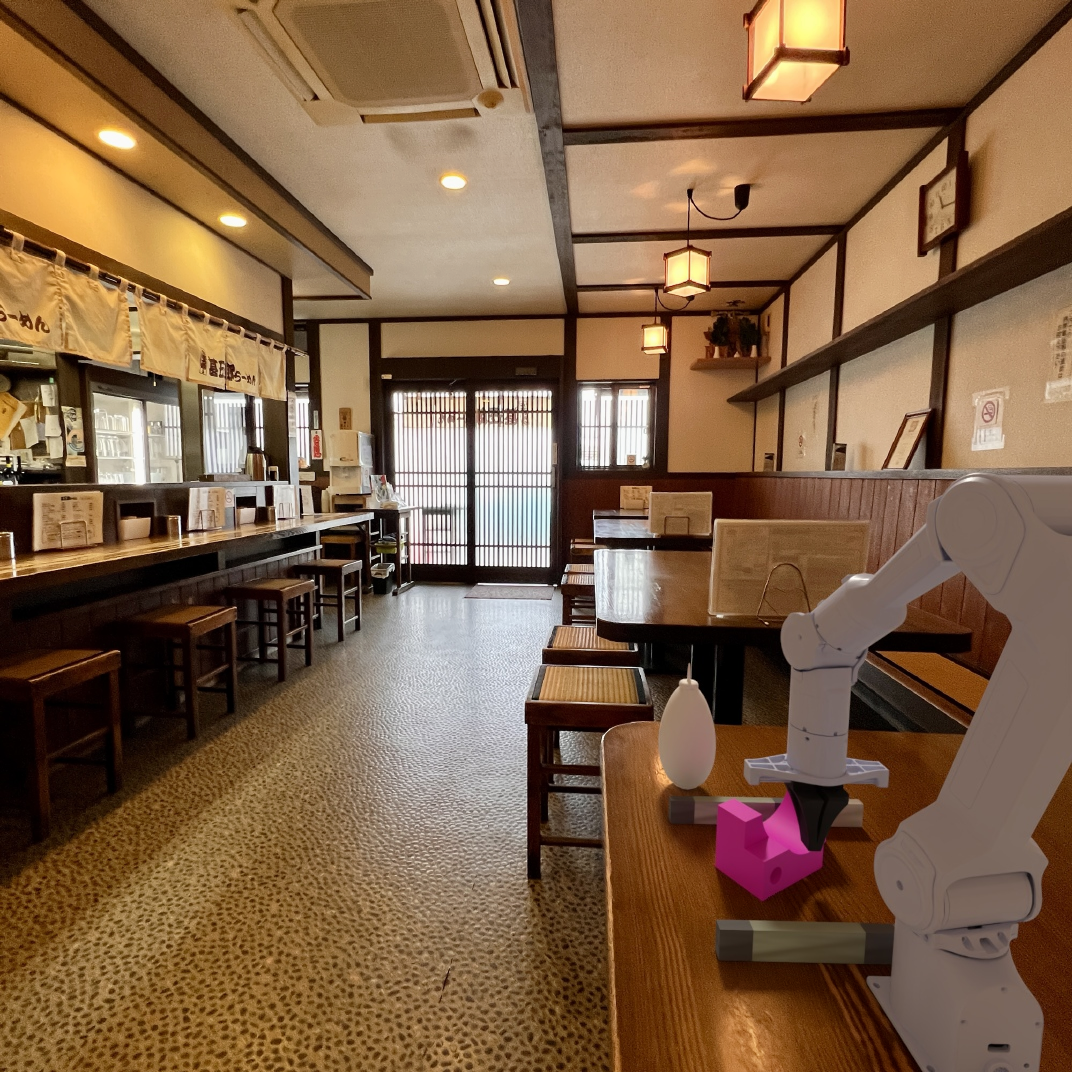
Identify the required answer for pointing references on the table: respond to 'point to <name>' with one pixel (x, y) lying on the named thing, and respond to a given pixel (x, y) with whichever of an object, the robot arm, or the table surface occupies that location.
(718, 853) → the toy block
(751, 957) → the trap lane
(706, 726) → the sauce bottle
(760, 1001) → the table surface
